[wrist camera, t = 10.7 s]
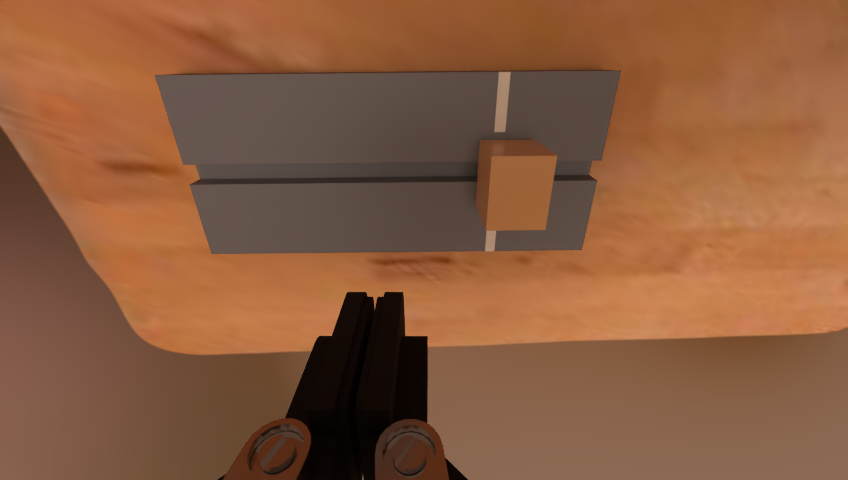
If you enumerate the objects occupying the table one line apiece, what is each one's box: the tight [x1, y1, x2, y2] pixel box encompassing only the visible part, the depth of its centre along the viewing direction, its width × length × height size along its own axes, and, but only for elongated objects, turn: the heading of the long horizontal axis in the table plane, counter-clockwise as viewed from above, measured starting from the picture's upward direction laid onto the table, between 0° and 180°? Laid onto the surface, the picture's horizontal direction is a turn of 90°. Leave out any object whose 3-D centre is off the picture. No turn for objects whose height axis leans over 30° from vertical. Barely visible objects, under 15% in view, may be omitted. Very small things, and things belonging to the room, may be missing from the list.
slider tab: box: [476, 139, 557, 231], centre depth 26 cm, size 4×5×7 cm
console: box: [155, 70, 621, 254], centre depth 29 cm, size 32×14×3 cm, turn 90°
